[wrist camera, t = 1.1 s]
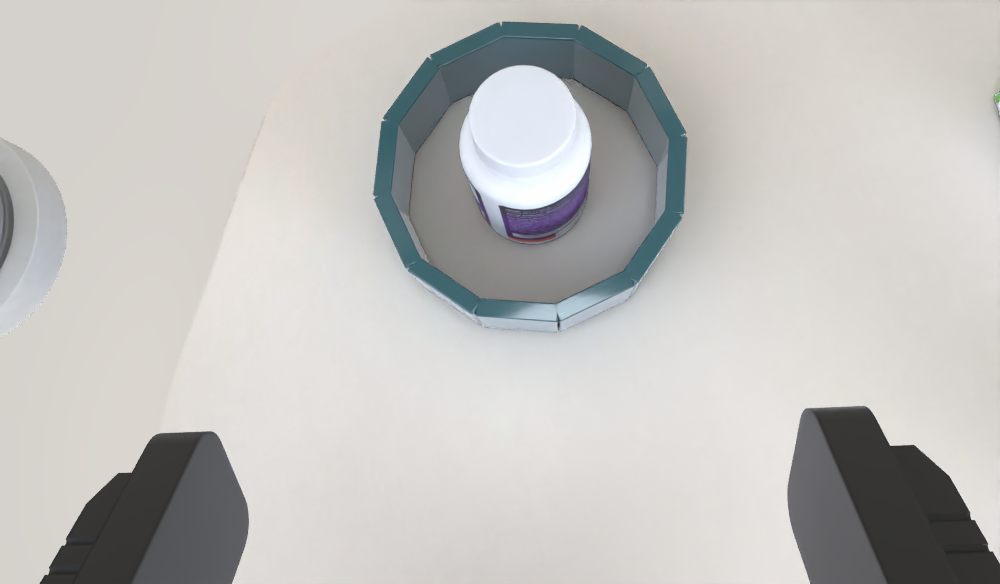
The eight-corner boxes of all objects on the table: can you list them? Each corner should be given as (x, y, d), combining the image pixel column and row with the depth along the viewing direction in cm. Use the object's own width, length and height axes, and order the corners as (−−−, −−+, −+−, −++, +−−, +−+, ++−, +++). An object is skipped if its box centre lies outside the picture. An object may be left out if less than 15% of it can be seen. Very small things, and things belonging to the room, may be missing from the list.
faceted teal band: (381, 319, 37) (359, 307, 33) (410, 57, 39) (393, 16, 35) (665, 340, 36) (678, 331, 32) (679, 68, 38) (692, 28, 34)
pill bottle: (608, 174, 38) (624, 90, 28) (550, 266, 37) (545, 213, 27) (514, 120, 38) (498, 21, 29) (456, 210, 38) (420, 139, 28)
